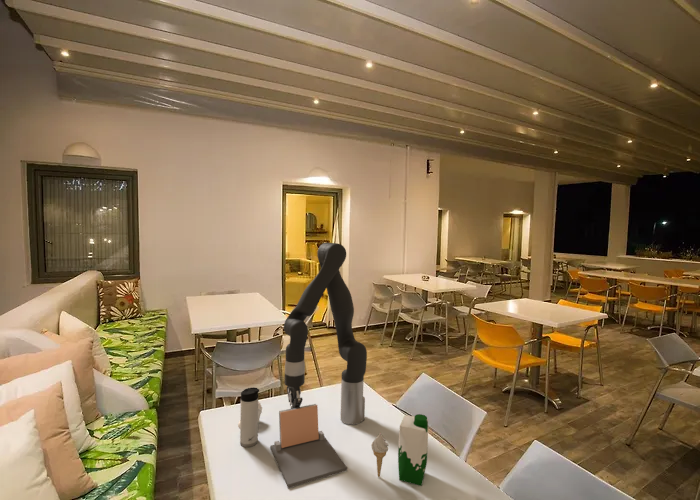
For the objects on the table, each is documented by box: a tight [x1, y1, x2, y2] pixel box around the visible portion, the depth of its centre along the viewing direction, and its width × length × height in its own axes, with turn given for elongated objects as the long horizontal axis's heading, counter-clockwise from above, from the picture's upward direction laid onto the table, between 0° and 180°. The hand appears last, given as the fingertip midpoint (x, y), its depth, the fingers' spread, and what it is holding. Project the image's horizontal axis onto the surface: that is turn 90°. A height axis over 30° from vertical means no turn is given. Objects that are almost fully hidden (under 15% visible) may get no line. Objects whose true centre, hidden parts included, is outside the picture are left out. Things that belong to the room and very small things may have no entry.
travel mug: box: [239, 387, 260, 448], centre depth 134 cm, size 6×7×20 cm
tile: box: [278, 403, 319, 448], centre depth 133 cm, size 14×2×12 cm, turn 116°
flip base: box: [269, 430, 348, 489], centre depth 125 cm, size 20×22×3 cm
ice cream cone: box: [370, 431, 389, 478], centre depth 117 cm, size 6×6×15 cm
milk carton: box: [397, 413, 429, 487], centre depth 117 cm, size 9×9×20 cm
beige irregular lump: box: [237, 401, 263, 430], centre depth 146 cm, size 6×8×12 cm
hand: (293, 416), depth 138 cm, fingers closed
